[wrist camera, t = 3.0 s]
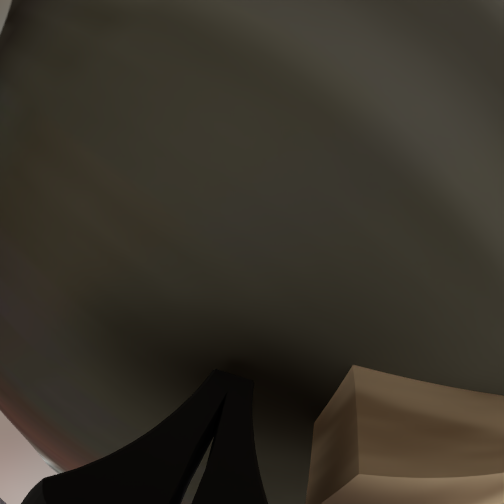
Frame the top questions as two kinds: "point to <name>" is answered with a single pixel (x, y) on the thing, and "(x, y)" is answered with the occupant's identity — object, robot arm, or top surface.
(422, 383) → the brown wooden block
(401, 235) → the top surface
